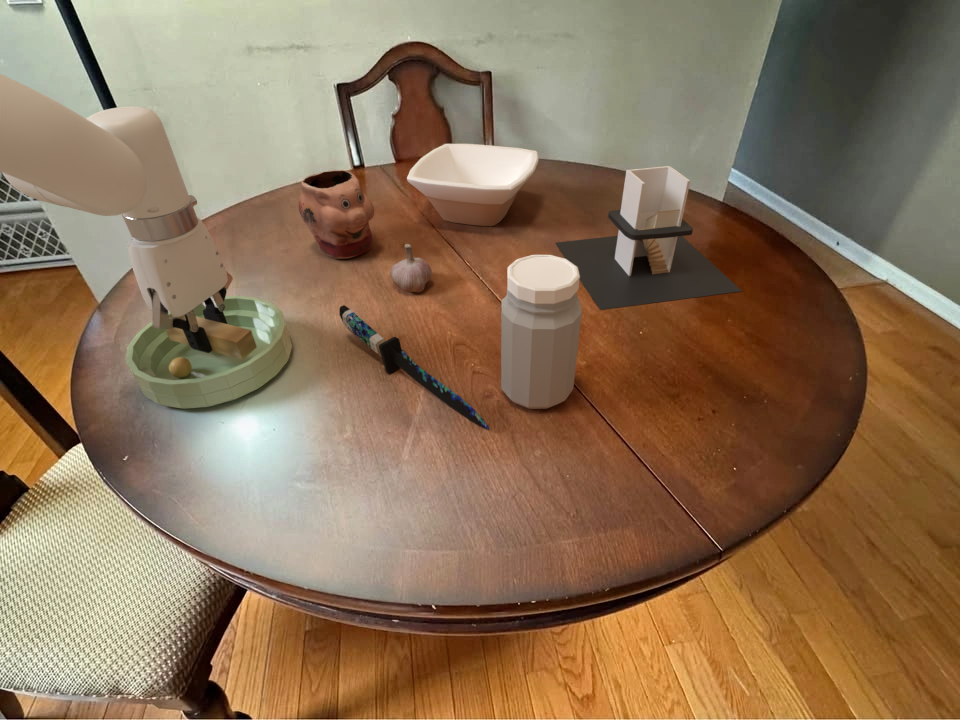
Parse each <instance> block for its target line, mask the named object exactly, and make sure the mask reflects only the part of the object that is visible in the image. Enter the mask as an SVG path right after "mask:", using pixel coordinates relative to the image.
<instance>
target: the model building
mask: <svg viewBox="0 0 960 720" xmlns="http://www.w3.org/2000/svg"><path fill="white" fill-rule="evenodd" d="M624 177H625V178H624V185H623V192H622V198H621V205H620V209H613V210H609V211H608V214H607V219H609V221H610V222H612V224H613V225H614V226H615V227H616V228H617V229H618V233H617V235H611V236H610V235H609V236H601V237H593V238H586V239H585V238H584V239H575V240H567V241H558V242H554V244H555V246H556V247H557V248H558V249H559V251H560V253H561V254H562V255H563V257H564V259H567V260H568V261H570V262H571V263H573V264H574V265H575V266H577V267H578V271H579V275H580V280H579V282H580V283H581V284H582V285H583V286H584V289H585V290H586V291H587V293H588V294H589V295H590V297H591V299H592V300H593V301H594V303H595V304H596V306H597V307H598V309H599V310H600V311H602V310H609V309H616V308H625V307H633V306H639V305H647V304H655V303H663V302H670V301H678V300H685V299H692V298H693V299H694V298H702V297H709V296H717V295H723V294H724V295H725V294H731V293H732V294H733V293H739V292H743V290H742V289H741V288H740V287H739V286H738V285H736V284H735V282H733V281H732V280H731V279H730V278H729V277H728V276H726V275H725V274H724V272H722V271H721V270H720V269H719V268H717V266H715V264H713V263H712V261H710V260H709V259H708V258H707V257H705V255H704V254H702V253H701V252H700V251H699V250H698V249H697V248H696V247H695V246H693V245H692V243H690V242H689V241H688V240H687V238H685V237H686V236H692V235H693V233H694V232H693V231H694V227H692V226H691V224H689V223H688V222H687V221H686V220H684V218H683V217H684V212H685V208H686V203H687V199H688V194H689V189H690V184H691V180H690V179H689V178H687V177H686V176H685V175H684V174H682V173H681V172H679V171H677V170H676V169H675V168H674V167H673V166H671V165H666V166H654V167H646V168H635V169H634V168H632V169H626V170H625V176H624Z"/></svg>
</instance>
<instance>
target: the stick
mask: <svg viewBox="0 0 960 720" xmlns="http://www.w3.org/2000/svg"><path fill="white" fill-rule="evenodd" d="M172 317H173V316H172ZM184 318H185V315H184ZM196 319H197V322H198V325H199V327H203V328H204V329H205V332H206V334H207V338H208V340H209V342H210V345H211V347H212V352H216V353H220V354H224V355H227V356H231V357H235V358H239V359H244V358H245V357H246V356H247V355H249V354H250V353H251V352H252V351H253V350H254V349H255V348H257V346H256V343H255V340H254V337H253V334H252V331H251V330H249V329H245V328H241V327H237V326H233V325H229V324H225V323H220V322H216V321H212V320H208V319H204V318H200V317H196ZM185 320H186V319H185ZM165 330H166V332H167V335H168V337H169V339H170V340H171V341H175V342H179V343H183V344H186V345H189V343H188V341H187V338H186V336H185V334H184V332H183V329H179V328H173V329H165Z"/></svg>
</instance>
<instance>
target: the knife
mask: <svg viewBox="0 0 960 720" xmlns="http://www.w3.org/2000/svg"><path fill="white" fill-rule="evenodd" d="M339 318H340V319H341V322H342V324H343V325H344V327H345V328H346V329H347V330H348V331H350V332H351V333H352V334H353V335H354V336H356V337H357V338H358V339H359V340H360V341H362V342H363V343H364V344H365V345H366V346H368V347H369V348H370V349H371V350H372V351H373V352H375V353H376V354H377V355H378V356H379V357H381V360H382V363H383V366H384V369H385V372H386V374H390V375H391V374H393V373H395V372H396V371H398V370H400V369H401V370H402V371H403V372H404V373H406V374H407V375H408V376H409V377H411V378H412V379H413V380H414V381H416V382H417V383H418V384H419V385H421V386H422V387H423V388H425V390H427V391H428V392H430V393H431V394H432V395H434V396H435V397H436V398H437V399H440V400H441V401H442V402H443V403H445V404H446V405H447V406H448V407H450V408H452V409H453V410H454V411H456V412H457V413H458V414H460V415H461V416H463V417H464V418H466V419H467V420H468V421H471V423H474V424H475V425H477V426H478V427H480V428H483V430H487V431H490V430H491V428H490V426H489V425H488V423H486V421H485V420H484V418H483V417H482V416H481V415H480V414H479V412H477V411H476V409H474V408H473V406H471V404H469V403H468V402H467V401H466V400H465V399H464V398H462V396H460V395H458V394H457V393H456V392H455V391H453V390H452V389H450V388H449V387H447V385H445V384H444V383H442V382H441V381H439V380H438V379H436V378H435V377H434V376H432V375H431V374H429V373H428V372H427V371H426V370H424V369H423V368H422V367H421V366H420V365H418V364H417V363H416V362H415V361H414V360H413V359H412V358H411V357H410V356H409V354H408V353H406V351H405V350H404V349H403V348H402V344H401V341H400V338H399V337H397V336H393V337H391V338H389V339H387V340H386V339H385V338H384V337H383V336H382V335H380V334H379V333H378V332H377V331H376V330H375V329H373V328H372V327H371V326H370V325H369V324H368V323H366V322H365V320H363V318H361V317H360V316H359V315H358V314H357V313H355V312H354V311H353V310H352V309H351V308H349V307H348V306H346V305H345V304H343V305H341V306H339Z"/></svg>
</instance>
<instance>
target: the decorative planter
mask: <svg viewBox="0 0 960 720" xmlns="http://www.w3.org/2000/svg"><path fill="white" fill-rule="evenodd" d="M300 184H301V192H300V194H299V198H298V212H299V215H300V216H301V218H302V221H303V223H304V224H305V225H306V226H307V228H308V230H309V232H310V233H311V235H312V237H313V238H314V239H315V241H316V242H317V244H318V245H319V248H320V251H322V253H323V254H324V255H326V256H328V257H330V258H334V259H342V260H343V259H351V258H354V257H357V256H361V255H363V254H364V253H366V252H368V251H369V250H370V249H371V247H372V242H373V234H372V230H371V227H370V223H369V221H371V220H372V219H373V218H374V216H375V206H374V204H373V203H372V201H371V200H370V198H369V197H368V196H367V195H366V194H365V192H364V191H363V188H362V185H361V181H360V180H359V178H358V177H356V175H355V174H353V173H352V172H351V171H347V170H343V169H333V170H324V171H321V172H318V173H314V174H310V175H308V176H306V177H305V178H303V179H302V181H301V183H300Z"/></svg>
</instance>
